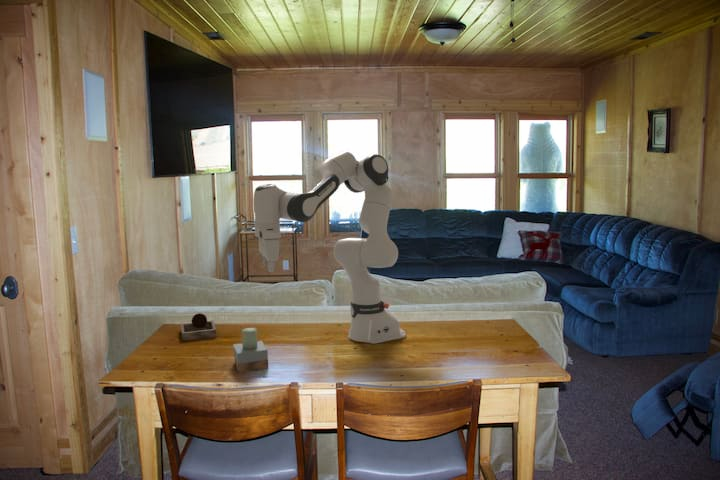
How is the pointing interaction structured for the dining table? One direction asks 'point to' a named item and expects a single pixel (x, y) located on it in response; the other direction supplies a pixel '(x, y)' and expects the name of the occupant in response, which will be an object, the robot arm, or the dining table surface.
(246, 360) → the grey slab
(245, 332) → the sage green rounded oval
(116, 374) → the dining table surface
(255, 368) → the walnut slab
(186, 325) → the wooden frame
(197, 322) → the compass
